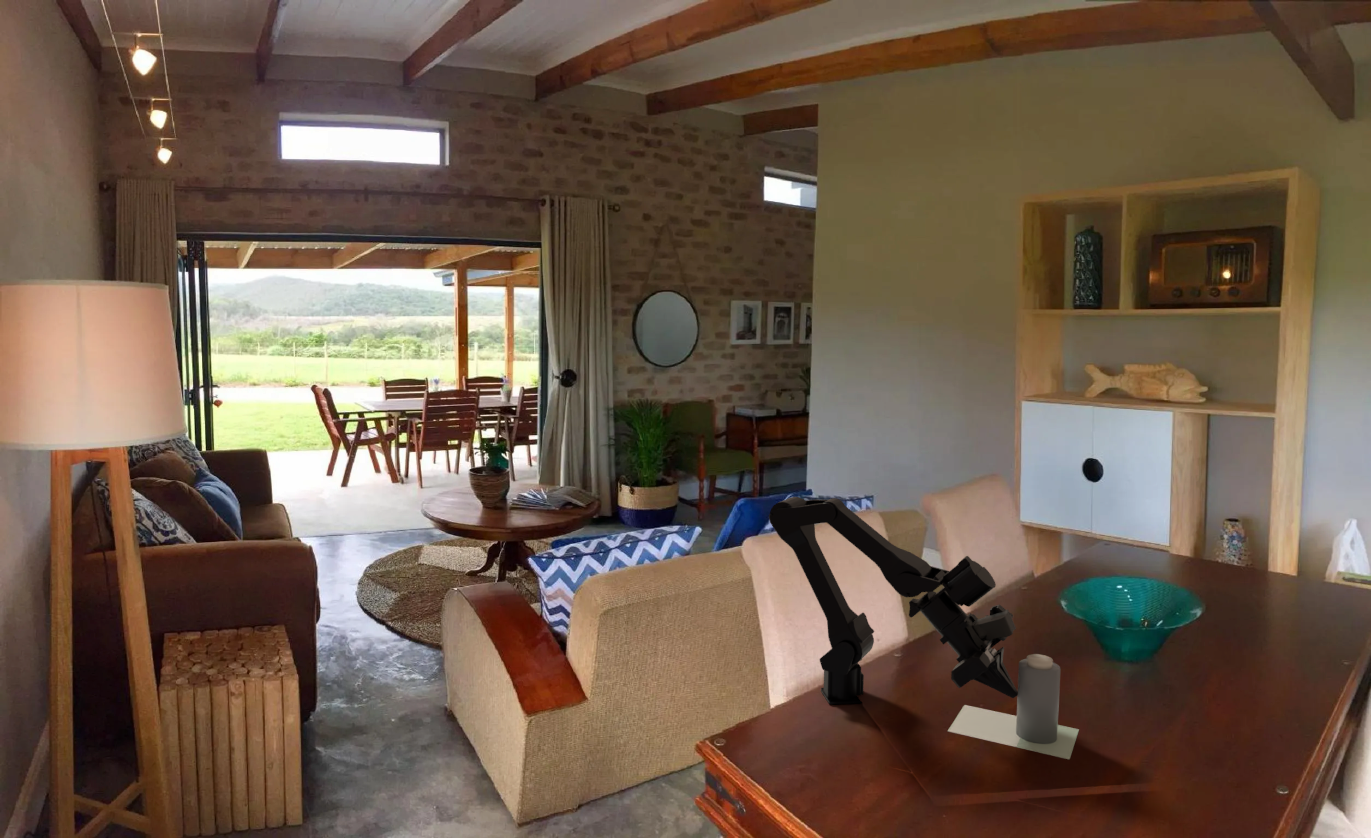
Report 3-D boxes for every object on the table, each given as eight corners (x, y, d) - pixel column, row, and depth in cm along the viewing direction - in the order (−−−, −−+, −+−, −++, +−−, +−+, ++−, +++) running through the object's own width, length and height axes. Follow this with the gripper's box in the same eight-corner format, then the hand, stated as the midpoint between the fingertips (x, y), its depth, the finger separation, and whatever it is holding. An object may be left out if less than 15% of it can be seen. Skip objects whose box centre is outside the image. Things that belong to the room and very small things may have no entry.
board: (947, 735, 149) (947, 730, 149) (964, 709, 159) (964, 704, 159) (1069, 763, 139) (1069, 759, 139) (1078, 733, 149) (1079, 729, 149)
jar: (1027, 745, 144) (1031, 666, 142) (1008, 727, 150) (1012, 652, 149) (1064, 742, 144) (1068, 665, 143) (1044, 725, 151) (1048, 650, 149)
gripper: (973, 609, 141) (1044, 689, 137) (997, 580, 157) (1061, 651, 153) (923, 648, 146) (990, 727, 142) (951, 616, 162) (1012, 686, 157)
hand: (1015, 696), depth 148 cm, fingers closed
